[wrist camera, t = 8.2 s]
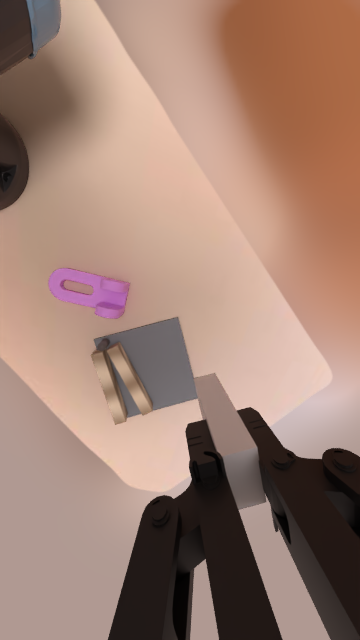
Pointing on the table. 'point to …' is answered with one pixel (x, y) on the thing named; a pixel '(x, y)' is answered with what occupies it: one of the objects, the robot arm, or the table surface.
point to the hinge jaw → (130, 378)
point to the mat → (156, 364)
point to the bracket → (105, 295)
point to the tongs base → (109, 382)
